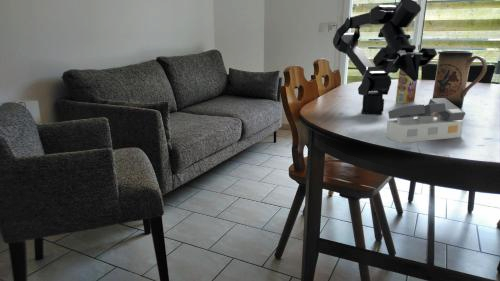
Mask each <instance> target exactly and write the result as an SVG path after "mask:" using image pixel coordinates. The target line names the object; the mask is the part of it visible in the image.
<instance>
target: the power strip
mask: <svg viewBox="0 0 500 281" xmlns="http://www.w3.org/2000/svg"><path fill="white" fill-rule="evenodd" d="M436 114H437V115H436V116H435V114H431V115H420V116H418V117H416V118H415V117H412V116H407V117H397V118H396V119H394V120H393V119H392V120H387V121H386V132H385V137H386V138H387V139H390V140H392V141H394V142H397V143H399V144H405V143H414V142H424V141H434V140H435V141H436V140H446V139H455V138H456V139H457V138H462V134H463V126H464V120H456V121H447V120H446V119H445V118H443V117H442V116H441V115H439V114H438V113H436Z"/></svg>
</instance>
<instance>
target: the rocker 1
mask: <svg viewBox="0 0 500 281" xmlns="http://www.w3.org/2000/svg"><path fill="white" fill-rule="evenodd" d="M424 106H425V104H421V103H420V104H411V105H410V104H409V105H405V106H402V107H398V108H395V109H392V110H388V119H389V120H390V119H391V120H393V119H394V120H395V119H397V117H407V116H414V115H418V114H422V113H425V107H424Z"/></svg>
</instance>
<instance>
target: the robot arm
mask: <svg viewBox="0 0 500 281" xmlns="http://www.w3.org/2000/svg"><path fill="white" fill-rule="evenodd" d="M421 10H422V7H421V5H420V4H419V3H418V2H416V1H414V0H400V1H399V2H398V5H376V6H374V7H372V8H371V9H370V11H369V12H365V13H362V14H359V15H354V16H349V17H346V18H345V20H344V23H343V24H342V25H341V26H340V27H339V28H338V29H337V30H336V32H335V34H334V36H333V38H332V44H333V47H334V48H335V49H336V50H337V51H338V52H340V53H343V54H345V55H346V56H347V57H348V59H349V60H350V61H351V62H352V64H353V65H354V66H355V67H356V69H357V70H358V72H359V73H360V74H361V76H362V77H361V78H362V80H361V83H360V85H359V86H358V88H357V91H358V95H360V96H362V108H361V114H373V115H374V114H375V115H376V114H377V115H383V112H384V108H385V99H384V98H383V96H384V95H385V96H386V95H387V96H388V94H389V91H390V88H391V85H392V78H391V76H390V74H396V73H399V70H400V69H401V70H402V71H403V72H404V73H406V74H407V75H408V76H409V77H410V78H411V79H412V80H413V81H417V82H418V80H419V72H420V67H426V66H427V65H428V64H429V63H430V62H431V61H432V60H433V59H434V58H436V56H437V55H438V52H437V51H436V48H431V47H422V48H421V49H420V50H419V51H418V52H417V51H415V50H416V49H417V47H416V45H415V44H414V45H413V44H411V43H410V39H411V35H410V34H406V32H405V30H404V28H408V27H409V26H410V25H411V23H412V22H413V21H414V20H415V19H416V17H417V16H418V14H420V12H421ZM372 25H375V26H382V28H380V29H379V32H378V34H377V38H384V41H385V42H386V46H385V47H383V46H382V47H381V48H380V49H379V51H378V52H377V53H376V54H375V55H374V57H373V59H372V60H373V61H371V60H370V59H369V58H368V57H367V55H366V54H365V53H364V52H363V50H362V49H361V48H360V47H359V45H358V44H359V39H360V37H361V31H360V29H361V28H363V27H367V26H372ZM350 29H355V31H354V32H348V31H349V30H350ZM414 51H415V52H414ZM372 62H373V63H372Z"/></svg>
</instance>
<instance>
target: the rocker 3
mask: <svg viewBox="0 0 500 281" xmlns="http://www.w3.org/2000/svg"><path fill="white" fill-rule="evenodd" d="M435 103H445V107H446V111H445V112H440V113H437V114H439V115H441V116H442V117H443V118H445V119H446V120H447V121H456V120H462V121H464V120H463V119H464V118H465V116H466V112H464V111H463V109H461V108H459V107H458V106H457V105H455V104H454V103H452V102H451V101H449V100H448V99H446V98H445V97H438V98H430V99H429V101H428V104H435Z"/></svg>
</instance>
